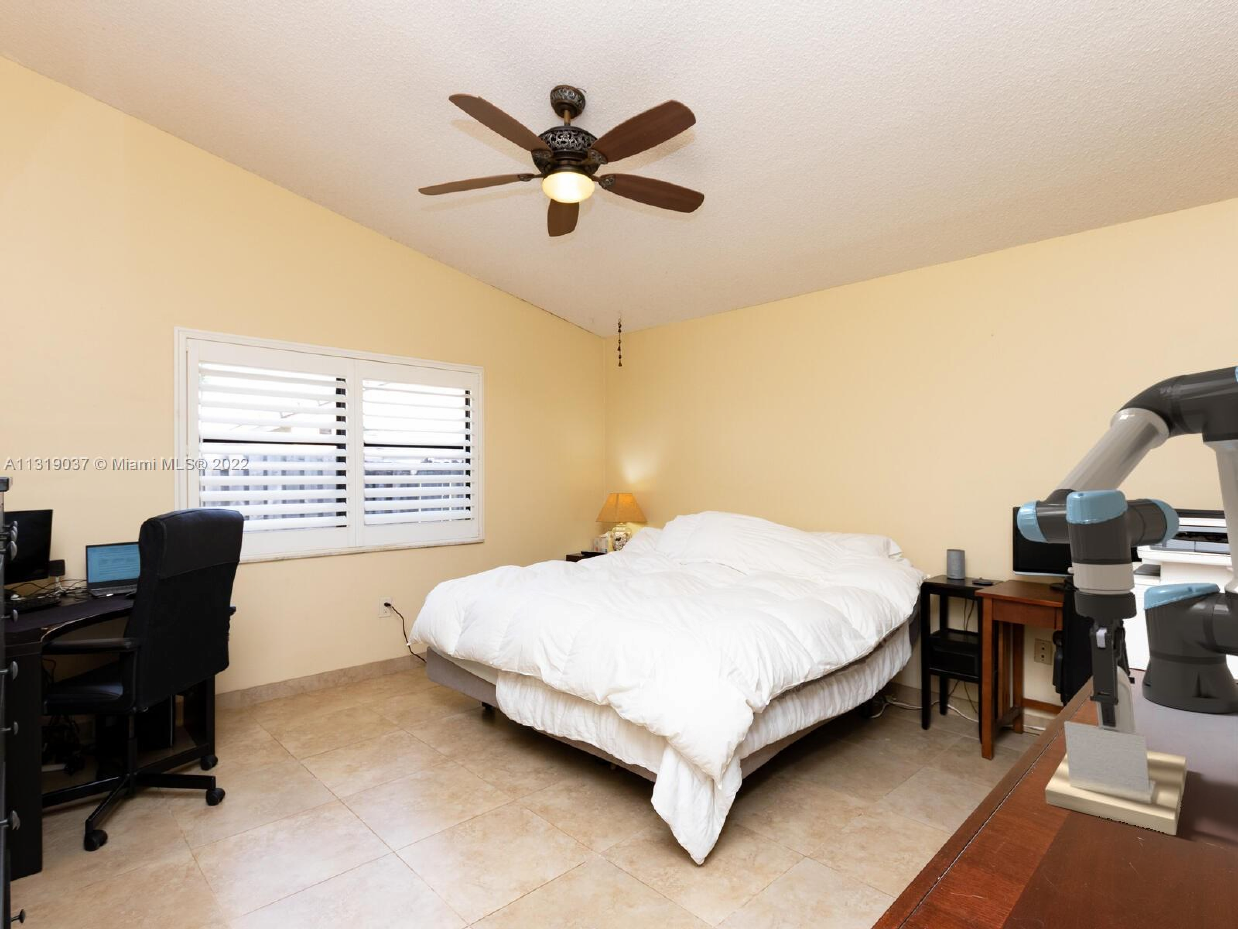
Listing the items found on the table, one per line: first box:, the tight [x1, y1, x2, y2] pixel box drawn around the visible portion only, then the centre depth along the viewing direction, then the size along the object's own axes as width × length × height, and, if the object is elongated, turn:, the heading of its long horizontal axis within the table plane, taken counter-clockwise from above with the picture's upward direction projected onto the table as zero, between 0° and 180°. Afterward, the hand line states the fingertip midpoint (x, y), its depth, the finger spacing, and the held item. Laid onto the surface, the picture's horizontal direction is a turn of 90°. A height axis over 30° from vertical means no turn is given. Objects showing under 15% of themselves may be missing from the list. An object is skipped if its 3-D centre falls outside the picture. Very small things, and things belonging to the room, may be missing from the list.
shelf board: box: [1044, 749, 1188, 836], centre depth 95 cm, size 24×14×2 cm, turn 135°
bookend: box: [1063, 720, 1156, 805], centre depth 91 cm, size 7×9×9 cm
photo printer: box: [1096, 666, 1137, 733], centre depth 97 cm, size 10×4×12 cm, turn 146°
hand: (1117, 735), depth 97 cm, fingers closed on photo printer, 10 cm apart
